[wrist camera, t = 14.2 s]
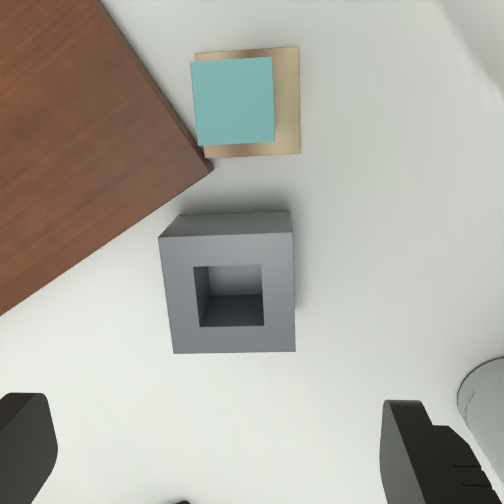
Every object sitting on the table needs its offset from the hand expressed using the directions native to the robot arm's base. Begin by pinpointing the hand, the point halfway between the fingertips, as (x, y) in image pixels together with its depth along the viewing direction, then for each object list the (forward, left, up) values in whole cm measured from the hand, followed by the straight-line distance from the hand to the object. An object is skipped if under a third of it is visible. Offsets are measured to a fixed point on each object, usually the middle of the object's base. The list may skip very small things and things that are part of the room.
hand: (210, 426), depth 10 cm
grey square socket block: (+2, +6, -28) cm, 29 cm away
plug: (0, -7, -27) cm, 28 cm away
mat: (0, -8, -28) cm, 29 cm away
